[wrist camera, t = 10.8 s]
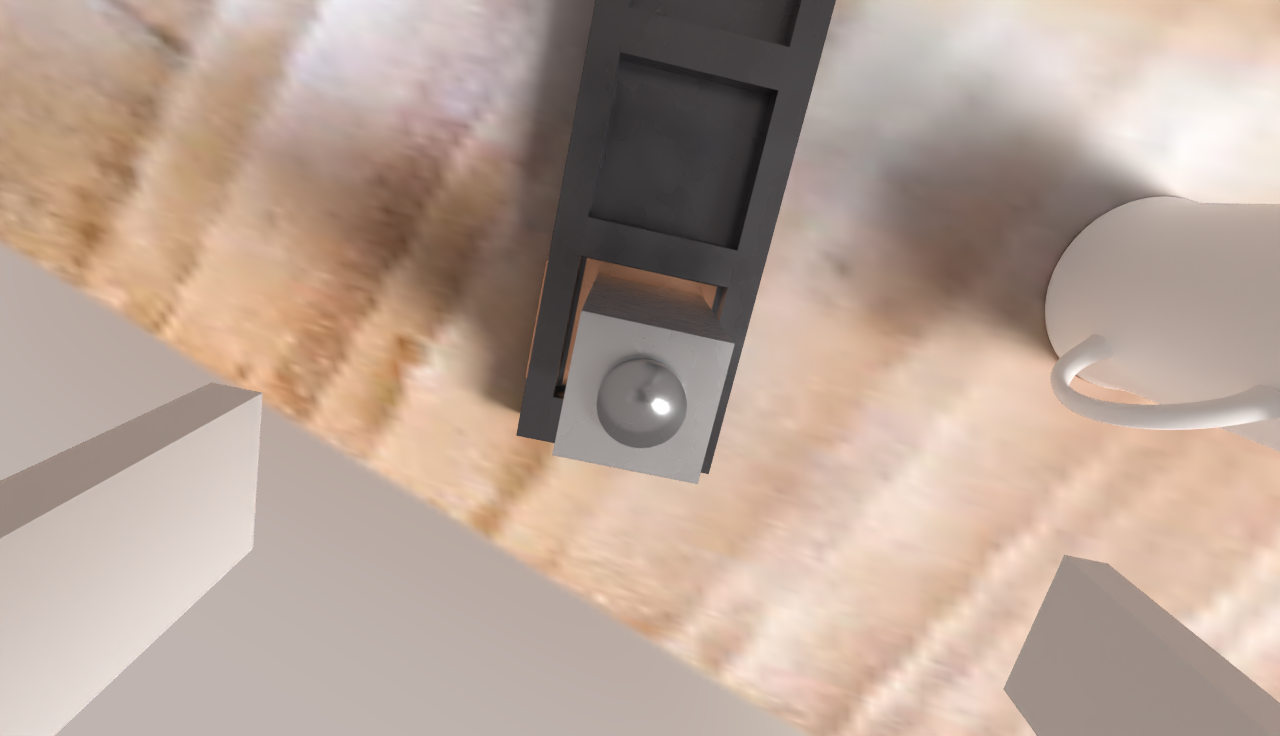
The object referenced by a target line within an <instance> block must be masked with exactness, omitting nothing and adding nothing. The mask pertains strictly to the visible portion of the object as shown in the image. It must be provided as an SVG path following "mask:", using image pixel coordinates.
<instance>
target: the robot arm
mask: <svg viewBox="0 0 1280 736" xmlns="http://www.w3.org/2000/svg"><path fill="white" fill-rule="evenodd" d="M262 394H263V393H261V392H256V391H251V390H246V389H241V388H236V387H231V386H226V385H221V384H216V383H210V384H208V385H206V386H203V387H201V388H199V389H197V390H195V391H193V392H191V393H188V394H186V395H184V396H182V397H180V398H178V399H176V400H173V401H172V402H169V403H167V404H165V405H163V406H160V407H158V408H156V409H154V410H152V411H150V412H148V413H145V414H143V415H141V416H139V417H137V418H135V419H133V420H131V421H128V422H126V423H124V424H122V425H120V426H118V427H115V428H113V429H111V430H109V431H107V432H105V433H102V434H100V435H98V436H96V437H94V438H92V439H90V440H87V441H85V442H83V443H81V444H79V445H77V446H75V447H72V448H70V449H68V450H66V451H64V452H61V453H59V454H57V455H55V456H53V457H51V458H49V459H47V460H44V461H42V462H40V463H38V464H36V465H34V466H31V467H29V468H27V469H25V470H23V471H21V472H19V473H16V474H14V475H12V476H10V477H8V478H6V479H3V480H1V481H0V736H54V735H55V734H56V733H58V732H59V731H60V730H61V729H62V728H63V727H64V726H65V725H66V724H67V723H68V722H69V721H70V720H71V719H72V718H73V717H74V716H76V714H78V713H79V712H80V711H81V710H82V709H83V708H84V707H85V706H86V705H87V704H88V703H89V702H90V701H91V700H93V699H94V698H95V697H96V696H97V695H98V694H99V693H100V692H101V691H102V690H103V689H104V688H105V687H106V686H107V685H108V684H110V683H111V682H112V680H114V679H115V678H116V677H117V676H118V675H119V674H120V673H121V672H122V671H123V670H124V669H125V668H126V667H127V666H128V665H130V664H131V663H132V662H133V661H134V660H135V659H136V658H137V657H138V656H139V655H140V654H141V653H142V652H143V651H144V650H146V649H147V647H149V646H150V645H151V644H152V643H153V642H154V641H155V640H156V639H157V638H158V637H159V636H160V635H161V634H162V633H164V632H165V631H166V630H167V629H168V628H169V627H170V626H171V625H172V624H173V623H174V622H175V621H176V620H177V619H178V618H179V617H181V615H183V614H184V613H185V612H186V611H187V610H188V609H189V608H190V607H191V606H192V605H193V604H194V603H195V602H196V601H197V600H199V598H201V597H202V596H203V595H204V594H205V593H206V592H207V591H208V590H209V589H210V588H211V587H212V586H213V585H214V584H215V583H217V582H218V581H219V580H220V579H221V578H222V577H223V576H224V575H225V574H226V573H227V572H228V571H229V570H230V569H231V568H232V567H233V566H234V565H236V563H238V562H239V561H240V560H241V559H242V558H243V557H244V556H245V555H246V554H247V553H248V552H249V551H250V550H252V549H253V537H254V521H255V505H256V489H257V474H258V457H259V441H260V426H261V410H262ZM1004 690H1005V692H1006V693H1007V695H1008V696H1009V697H1010V699H1011V700H1012V701H1013V703H1014V704H1015V706H1016V707H1017V708H1018V710H1019V711H1020V713H1021V714H1022V715H1023V717H1024V718H1025V719H1026V721H1027V722H1028V724H1029V725H1030V726H1031V728H1032V729H1033V731H1034V732H1035V733H1036V735H1037V736H1280V703H1279V702H1278V701H1277V700H1275V699H1274V698H1273V697H1272V696H1270V695H1269V694H1268V693H1267V692H1266V691H1264V690H1263V689H1262V688H1261V687H1259V686H1258V685H1257V684H1256V683H1254V682H1253V681H1252V680H1251V679H1249V678H1248V677H1247V676H1246V675H1245V674H1243V673H1242V672H1241V671H1240V670H1238V669H1237V668H1236V667H1235V666H1233V665H1232V664H1231V663H1230V662H1228V661H1227V660H1226V659H1225V658H1224V657H1222V656H1221V655H1220V654H1219V653H1217V652H1216V651H1215V650H1214V649H1212V648H1211V647H1210V646H1209V645H1207V644H1206V643H1205V642H1204V641H1203V640H1201V639H1200V638H1199V637H1198V636H1196V635H1195V634H1194V633H1193V632H1191V631H1190V630H1189V629H1188V628H1186V627H1185V626H1184V625H1183V624H1182V623H1180V622H1179V621H1178V620H1177V619H1175V618H1174V617H1173V616H1172V615H1170V614H1169V613H1168V612H1167V611H1166V610H1164V609H1163V608H1162V607H1161V606H1159V605H1158V604H1157V603H1156V602H1154V601H1153V600H1152V599H1151V598H1149V597H1148V596H1147V595H1146V594H1145V593H1143V592H1142V591H1141V590H1140V589H1138V588H1137V587H1136V586H1135V585H1133V584H1132V583H1131V582H1130V581H1128V580H1127V579H1126V578H1125V577H1124V576H1122V575H1121V574H1120V573H1119V572H1117V571H1116V570H1115V569H1114V568H1112V567H1111V566H1110V565H1109V564H1107V563H1102V562H1097V561H1092V560H1087V559H1082V558H1077V557H1072V556H1067V555H1064V557H1063V559H1062V562H1061V564H1060V566H1059V568H1058V570H1057V573H1056V575H1055V577H1054V579H1053V581H1052V584H1051V586H1050V588H1049V590H1048V592H1047V595H1046V597H1045V599H1044V601H1043V603H1042V606H1041V608H1040V610H1039V612H1038V614H1037V617H1036V619H1035V621H1034V623H1033V625H1032V627H1031V630H1030V632H1029V634H1028V636H1027V638H1026V641H1025V643H1024V645H1023V647H1022V649H1021V652H1020V654H1019V656H1018V658H1017V660H1016V663H1015V665H1014V667H1013V669H1012V671H1011V674H1010V676H1009V678H1008V680H1007V682H1006V685H1005V687H1004Z"/></svg>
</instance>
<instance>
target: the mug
mask: <svg viewBox="0 0 1280 736" xmlns="http://www.w3.org/2000/svg"><path fill="white" fill-rule="evenodd" d="M1045 322H1046V328H1047V333H1048V336H1049V339H1050V342H1051V344H1052V347H1053V349H1054V351H1055V352H1056V354H1057V356H1058V357H1059V358H1060V359H1059V360H1058V361H1057V362H1056V364H1055V365H1054V367H1053V369H1052V372H1051V386H1052V389H1053V392H1054V394H1055V395H1056V397H1057V398H1058V400H1059V401H1060V402H1061V403H1062V404H1063V405H1064V406H1065V407H1067V408H1068V409H1070V410H1071V411H1073V412H1075V413H1077V414H1079V415H1081V416H1083V417H1086V418H1089V419H1092V420H1095V421H1098V422H1102V423H1107V424H1111V425H1117V426H1123V427H1131V428H1141V429H1158V430H1185V429H1204V428H1215V427H1218V428H1221V429H1223V430H1226V431H1228V432H1231V433H1233V434H1236V435H1238V436H1241V437H1243V438H1246V439H1248V440H1251V441H1253V442H1256V443H1258V444H1261V445H1263V446H1266V447H1268V448H1271V449H1273V450H1276V451H1278V452H1280V204H1225V203H1199V202H1196V201H1193V200H1189V199H1184V198H1179V197H1165V196H1164V197H1150V198H1144V199H1139V200H1135V201H1132V202H1129V203H1126V204H1123V205H1121V206H1119V207H1116V208H1114V209H1112V210H1110V211H1109V212H1107V213H1105V214H1103V215H1102V216H1100V217H1099V218H1097V219H1096V220H1095V221H1093V222H1092V223H1091V224H1089V225H1088V226H1087V227H1086V228H1085V229H1084V230H1083V231H1082V232H1081V233H1080V234H1079V235H1078V236H1077V237H1076V238H1075V239H1074V240H1073V241H1072V242H1071V244H1070V245H1069V246H1068V248H1067V249H1066V250H1065V252H1064V253H1063V255H1062V256H1061V258H1060V260H1059V262H1058V263H1057V265H1056V267H1055V270H1054V272H1053V274H1052V277H1051V280H1050V283H1049V286H1048V290H1047V295H1046V302H1045ZM1075 375H1077V376H1079V377H1080V378H1082V379H1084V380H1086V381H1088V382H1090V383H1092V384H1095V385H1098V386H1101V387H1105V388H1109V389H1115V390H1124V391H1127V392H1129V393H1132V394H1135V395H1137V396H1140V397H1143V398H1145V399H1148V400H1150V401H1153V402H1155V403H1158V404H1160V405H1138V404H1123V403H1114V402H1108V401H1102V400H1098V399H1094V398H1090V397H1087V396H1085V395H1082V394H1080V393H1078V392H1076V391H1074V390H1073V389H1072V388H1071V387H1070V386H1069V385H1070V382H1071V380H1072V378H1073V377H1074V376H1075Z"/></svg>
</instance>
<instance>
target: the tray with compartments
mask: <svg viewBox="0 0 1280 736" xmlns="http://www.w3.org/2000/svg"><path fill="white" fill-rule="evenodd" d="M835 1H836V0H596V2H595V7H594V13H593V18H592V24H591V29H590V35H589V40H588V46H587V51H586V57H585V62H584V68H583V73H582V79H581V84H580V89H579V95H578V100H577V106H576V111H575V117H574V122H573V128H572V133H571V139H570V144H569V150H568V155H567V161H566V166H565V172H564V177H563V183H562V188H561V194H560V199H559V205H558V210H557V216H556V221H555V227H554V232H553V238H552V243H551V249H550V254H549V258H548V259H547V260H546V266H545V271H544V277H543V282H542V288H541V293H540V299H539V304H538V310H537V315H536V321H535V326H534V332H533V337H532V343H531V348H530V354H529V359H528V365H527V370H526V376H525V378H527V380H526V386H525V391H524V397H523V402H522V408H521V413H520V419H519V424H518V430H517V436H522V437H527V438H532V439H537V440H542V441H547V442H552V443H555V440H556V435H557V430H558V425H559V420H560V415H561V410H562V405H563V400H564V395H565V390H566V385H567V380H568V375H569V370H570V365H571V360H572V355H573V350H574V345H575V340H576V335H577V330H578V325H579V320H580V315H581V310H582V308H583V306H584V303H585V301H586V299H587V297H588V294H589V292H590V290H591V287H592V285H593V283H594V281H595V278H596V276H597V274H598V273H599V274H603V275H608V276H612V277H617V278H622V279H626V280H631V281H635V282H640V283H644V284H649V285H653V286H658V287H663V288H667V289H672V290H676V291H681V292H685V293H690V294H694V295H699V296H702V297H703V298H704V300H705V301H706V303H707V304H708V306H709V307H710V308H711V310H712V311H713V313H714V314H715V316H716V317H717V319H718V320H719V322H720V323H721V324H722V326H723V327H724V329H725V330H726V332H727V333H728V335H729V336H730V338H731V339H732V341H733V342H734V343H735V345H734V348H733V352H732V356H731V360H730V363H729V367H728V371H727V375H726V379H725V382H724V386H723V390H722V394H721V397H720V401H719V405H718V409H717V412H716V416H715V420H714V424H713V427H712V431H711V435H710V439H709V443H708V446H707V450H706V454H705V458H704V461H703V465H702V469H701V473H706V474H709V470H710V467H711V463H712V459H713V456H714V452H715V448H716V444H717V441H718V437H719V433H720V430H721V426H722V422H723V418H724V415H725V411H726V407H727V403H728V400H729V396H730V392H731V389H732V385H733V381H734V377H735V374H736V370H737V366H738V363H739V359H740V355H741V351H742V348H743V344H744V340H745V336H746V333H747V329H748V325H749V322H750V318H751V314H752V310H753V307H754V303H755V299H756V295H757V292H758V288H759V284H760V281H761V277H762V273H763V269H764V266H765V262H766V258H767V255H768V251H769V247H770V243H771V240H772V236H773V232H774V228H775V225H776V221H777V217H778V214H779V210H780V206H781V202H782V199H783V195H784V191H785V188H786V184H787V180H788V176H789V173H790V169H791V165H792V161H793V158H794V154H795V150H796V147H797V143H798V139H799V135H800V132H801V128H802V124H803V120H804V117H805V113H806V109H807V106H808V102H809V98H810V94H811V91H812V87H813V83H814V80H815V76H816V72H817V68H818V65H819V61H820V57H821V53H822V50H823V46H824V42H825V39H826V35H827V31H828V27H829V24H830V20H831V16H832V13H833V9H834V5H835Z"/></svg>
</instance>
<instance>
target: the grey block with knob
mask: <svg viewBox="0 0 1280 736" xmlns="http://www.w3.org/2000/svg"><path fill="white" fill-rule="evenodd" d="M734 345H735V343H734V342H733V341H732V339H731V338H730V336H729V335H728V333H727V332H726V330H725V329H724V327H723V326H722V324H721V323H720V322H719V320H718V319H717V317H716V316H715V314H714V313H713V311H712V310H711V308H710V307H709V306H708V304H707V303H706V301H705V300H704V298H703V297H702V296H699V295H694V294H690V293H685V292H681V291H676V290H672V289H667V288H663V287H658V286H653V285H649V284H644V283H640V282H635V281H631V280H626V279H622V278H617V277H612V276H608V275H603V274H599V273H598V274H597V276H596V278H595V281H594V283H593V285H592V287H591V290H590V292H589V294H588V297H587V299H586V301H585V303H584V306H583V308H582V310H581V315H580V320H579V325H578V330H577V335H576V340H575V345H574V350H573V355H572V360H571V365H570V370H569V375H568V380H567V385H566V390H565V395H564V400H563V405H562V410H561V415H560V420H559V425H558V430H557V435H556V440H555V445H554V450H553V455H554V456H559V457H564V458H569V459H574V460H579V461H584V462H589V463H594V464H599V465H604V466H609V467H614V468H620V469H625V470H630V471H635V472H640V473H645V474H650V475H655V476H660V477H665V478H670V479H675V480H680V481H685V482H690V483H695V484H698V480H699V476H700V473H701V469H702V465H703V461H704V458H705V454H706V450H707V446H708V443H709V439H710V435H711V431H712V427H713V424H714V420H715V416H716V412H717V409H718V405H719V401H720V397H721V394H722V390H723V386H724V382H725V379H726V375H727V371H728V367H729V363H730V360H731V356H732V352H733V348H734Z"/></svg>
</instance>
